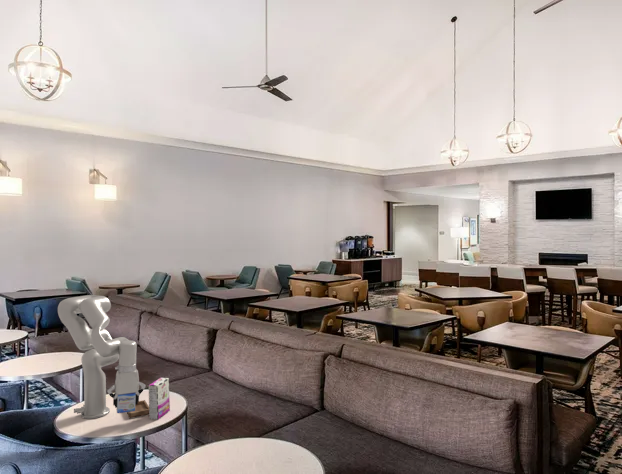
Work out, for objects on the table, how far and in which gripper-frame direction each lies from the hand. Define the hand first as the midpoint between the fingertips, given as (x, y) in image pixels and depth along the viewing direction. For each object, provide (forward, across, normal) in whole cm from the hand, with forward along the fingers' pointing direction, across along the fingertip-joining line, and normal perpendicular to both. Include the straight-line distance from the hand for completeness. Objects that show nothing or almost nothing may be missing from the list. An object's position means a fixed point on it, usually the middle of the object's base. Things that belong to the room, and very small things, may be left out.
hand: (126, 404), depth 210 cm
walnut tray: (+9, +7, +10) cm, 15 cm away
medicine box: (+3, 0, 0) cm, 3 cm away
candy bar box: (+8, +15, 0) cm, 17 cm away
